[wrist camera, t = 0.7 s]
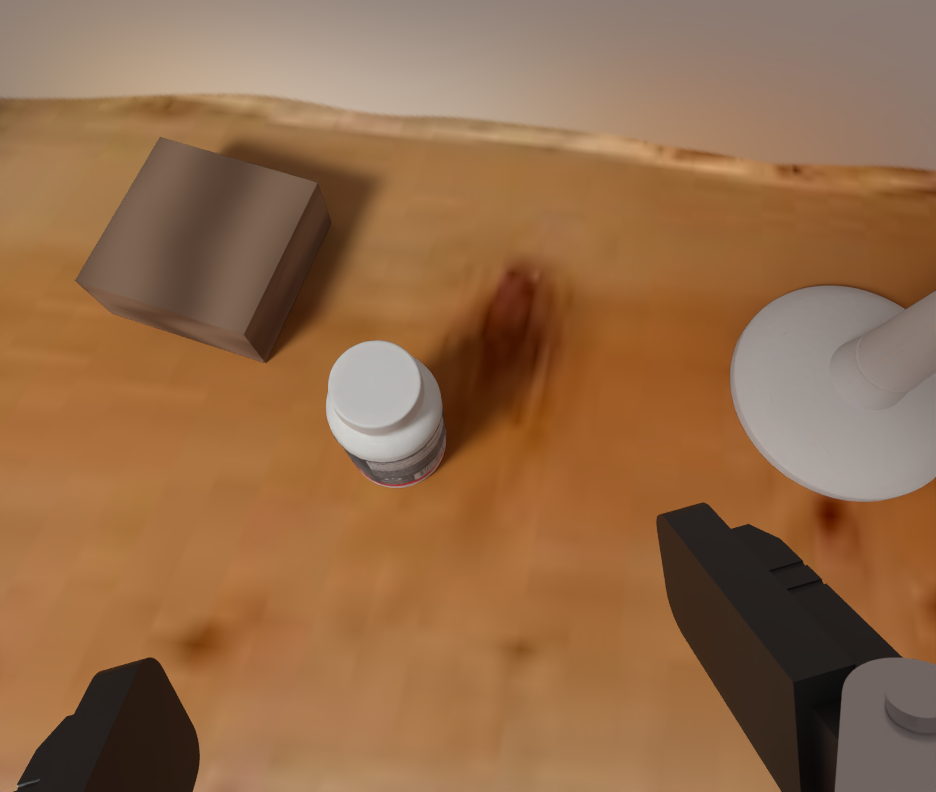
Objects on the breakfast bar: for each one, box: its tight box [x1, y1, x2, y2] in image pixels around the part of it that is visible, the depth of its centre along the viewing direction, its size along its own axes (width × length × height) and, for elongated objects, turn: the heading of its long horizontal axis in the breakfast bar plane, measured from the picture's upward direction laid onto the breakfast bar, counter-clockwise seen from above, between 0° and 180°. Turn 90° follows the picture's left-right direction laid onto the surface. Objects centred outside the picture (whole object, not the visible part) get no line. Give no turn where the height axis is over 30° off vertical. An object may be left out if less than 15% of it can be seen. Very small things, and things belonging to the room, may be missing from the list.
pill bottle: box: [326, 341, 446, 488], centre depth 33 cm, size 5×5×10 cm
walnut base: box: [75, 137, 331, 363], centre depth 39 cm, size 10×10×4 cm
